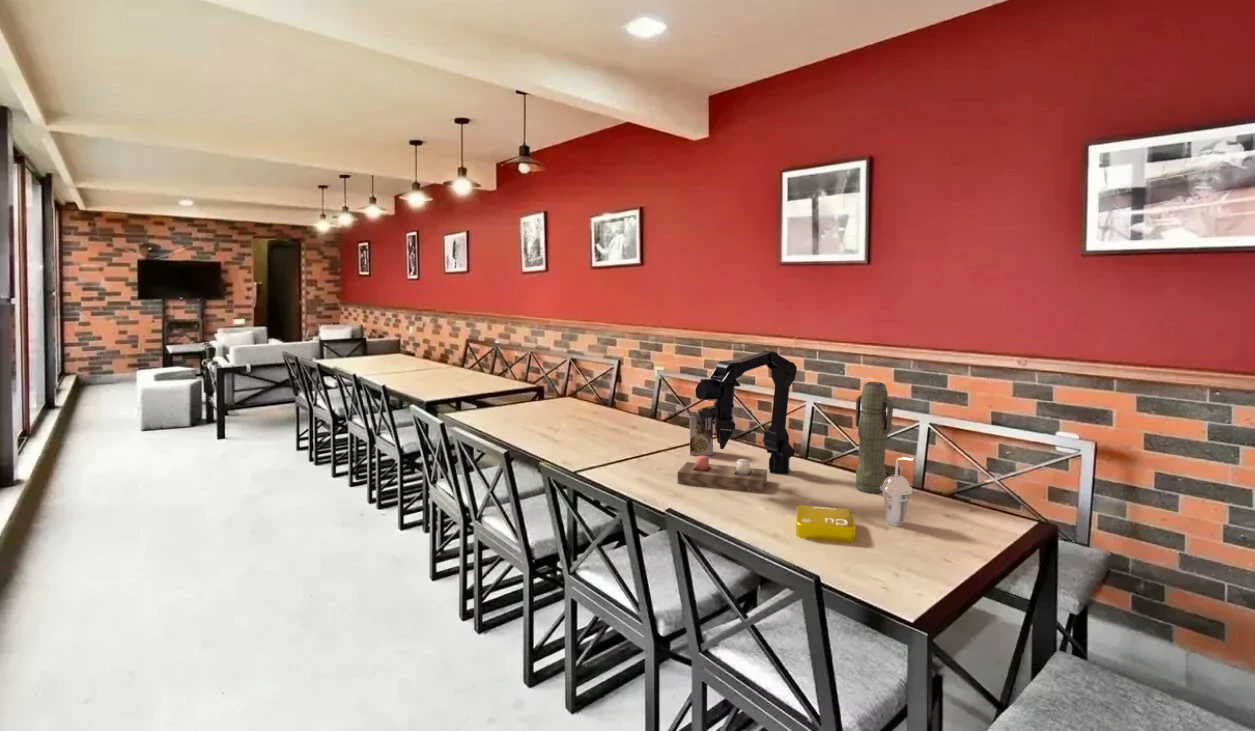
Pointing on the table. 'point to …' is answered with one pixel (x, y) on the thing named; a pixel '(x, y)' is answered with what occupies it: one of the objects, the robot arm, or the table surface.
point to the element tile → (825, 524)
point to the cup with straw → (896, 496)
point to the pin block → (723, 477)
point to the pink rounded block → (702, 463)
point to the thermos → (872, 436)
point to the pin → (743, 467)
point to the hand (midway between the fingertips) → (720, 446)
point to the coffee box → (700, 435)
